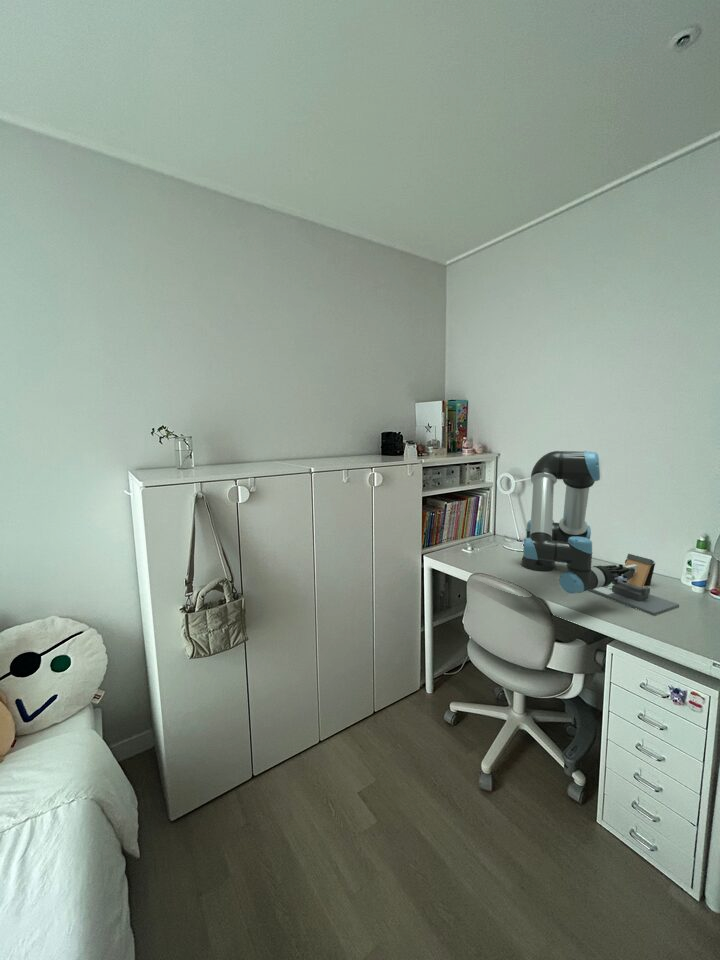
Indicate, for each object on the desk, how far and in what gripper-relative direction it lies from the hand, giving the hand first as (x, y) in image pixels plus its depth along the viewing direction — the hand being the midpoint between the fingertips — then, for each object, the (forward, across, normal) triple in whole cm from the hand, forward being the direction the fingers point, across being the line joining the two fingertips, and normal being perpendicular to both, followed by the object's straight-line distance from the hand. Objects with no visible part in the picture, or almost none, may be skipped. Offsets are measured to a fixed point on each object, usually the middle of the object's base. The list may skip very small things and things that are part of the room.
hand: (635, 568), depth 152 cm
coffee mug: (+19, -9, -12) cm, 24 cm away
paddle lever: (-2, 0, -7) cm, 7 cm away
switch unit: (-2, 0, -12) cm, 12 cm away
